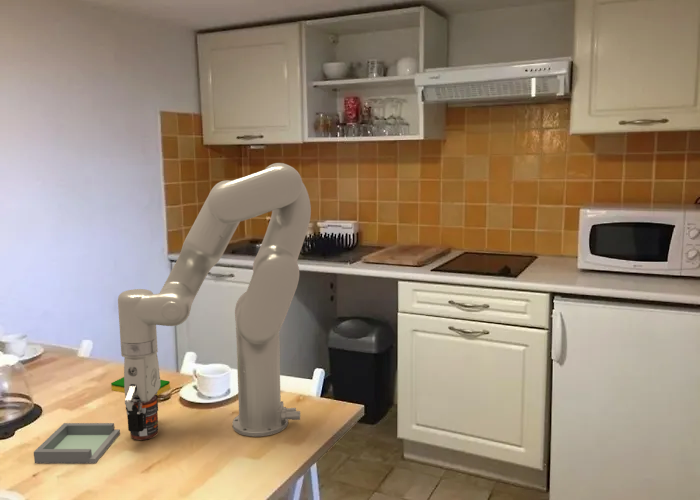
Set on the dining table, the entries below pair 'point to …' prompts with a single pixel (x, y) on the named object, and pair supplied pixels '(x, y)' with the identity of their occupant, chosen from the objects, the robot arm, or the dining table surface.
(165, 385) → the dish sponge
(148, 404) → the supplement bottle
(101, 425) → the dock bay
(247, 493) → the dining table surface
